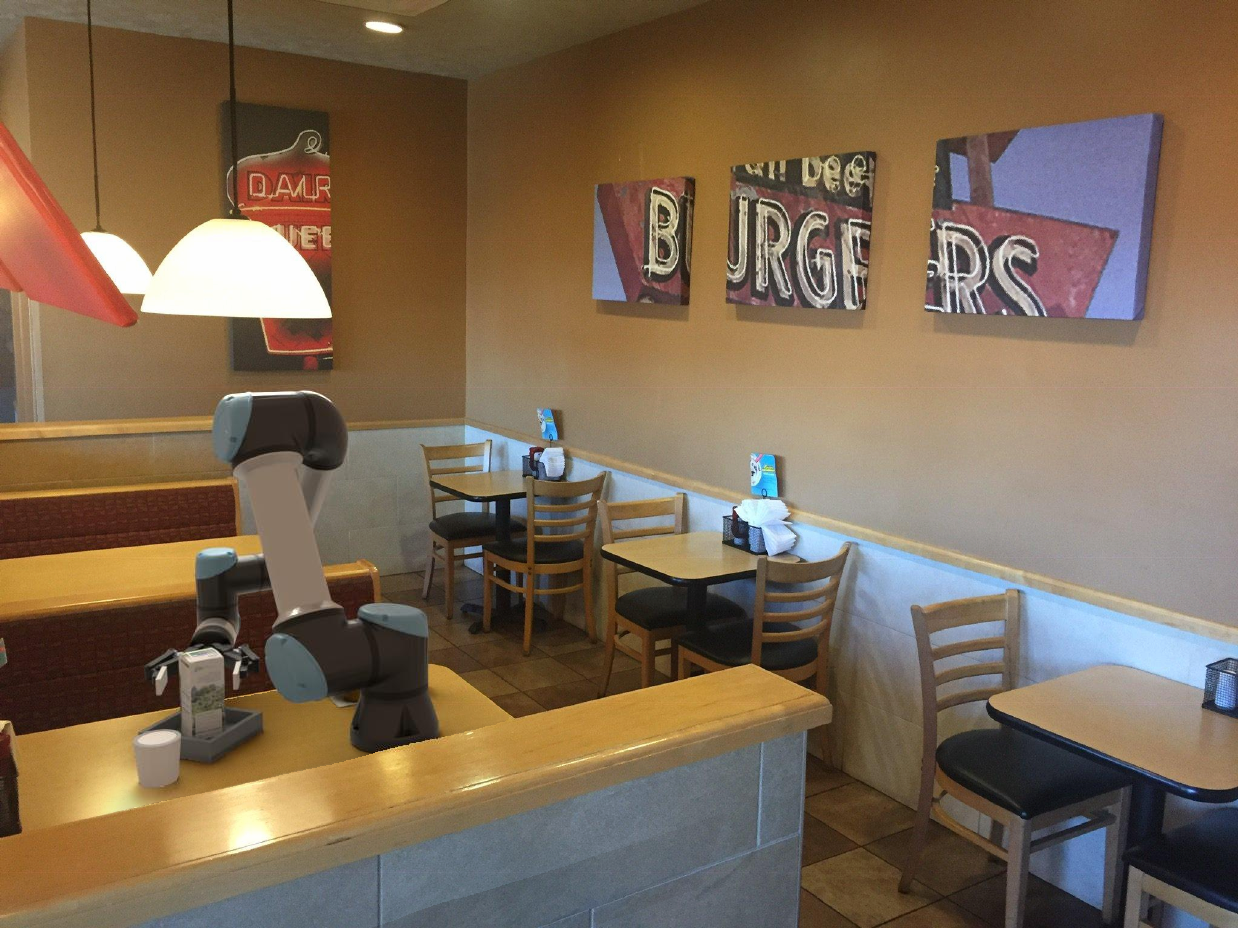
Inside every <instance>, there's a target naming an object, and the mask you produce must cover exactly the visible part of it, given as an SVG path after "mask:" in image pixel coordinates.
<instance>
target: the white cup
mask: <svg viewBox="0 0 1238 928" xmlns="http://www.w3.org/2000/svg"><path fill="white" fill-rule="evenodd" d="M180 744H181V734H180V733H179V732H178V731H175V730H167V729H163V730H154V731H150V732H146V733H143V734H141V735H139V736H138V735H137V736H136V737H135V738H133V740H132V745H133V746H132V747H133V753H134V759H135V764H136V770H137V778H138V784H139V785H140V786H141V787H143V788H147V789H157V788H162V787H161V786H163V787H166V786H165V785H167V786H169V784H170V783H172V784H174V783H175V782H176V781H178V780H177V778H178V779H179V777H178V776H180V775H179V774H180V773H179V772H180ZM175 780H176V781H175ZM174 781H175V782H174ZM173 782H174V783H173ZM170 785H171V784H170Z"/></svg>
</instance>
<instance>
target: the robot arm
mask: <svg viewBox="0 0 1238 928" xmlns="http://www.w3.org/2000/svg"><path fill="white" fill-rule="evenodd" d="M344 418H345V417H344V416H343V414H342V413H341V411H340V409H339V408H338V407H337V405H336V404H335V403H334V402H332V400H330V399H329V398H327V397H326V396H324V395H323V394H320V393H318V392H314V391H311V390H296V391H274V392H273V391H271V392H270V391H269V392H265V391H264V392H251V391H246V392H244V393H243V392H242V393H231V394H227V395H225V396H224V397H223V398H222V399H221V400H220V401H219V403H218V405H217V407H216V409H215V412H214V415H213V420H212V428H211V430H212V431H211V441H212V442H211V443H212V448H213V454H214V455H215V457H216V459H217V461H219V462H220V463H224V464H230V465H231V468H232V472H233V475H234V477H235V478H237V479H239V480H241V481H243V482H244V483H245V486H246V489H247V493H248V497H249V498H248V499H249V502H250V506H251V509H252V513H253V518H254V521H255V525H256V529H257V532H258V537H259V541H260V545H261V550H262V552H260V553H259V552H258V553H254V554H253V553H252V554H246V555H245V554H244V555H239V556H238V554H237V551H236V550H235V549H234V548H231V547H223V546H222V547H211V548H206V549H202V550H200V551H199V552H198V553H197V554H196V556H195V566H194V570H195V571H194V578H195V593H196V624H197V626H196V628H195V632H194V633H193V635H192V637H191V640H190V641H189V645H188V648H186V649H184V650H183V651H180V652H178V651H177V650H176V648H168V649H167V650H166V652H165V653H164V654H161V656H158V657H157V658H155V659H154V660H152V661H150V662H149V663H147V664H145V665H144V680H145V681H152V682H151V683H152V685H154V686H155V694H156V696H162V694H163V692H164V690H165V687H166V686H167V683H168V678H171V677H173V676H174V677H175V675H179V654H182V653H187V652H192V651H197V650H202V649H208V648H213V649H215V650H216V651H218V652H219V653H220V654H221V655H222V656H223V657H224V669H228V670H231V671H232V685H233V686H232V688H233V689H232V690H239V688H240V683H241V681H242V680H243V679H247V678H248V675H249V674H250V672H252V673H253V674H259V673H261V665H260V664H261V659H260V657H259V656H258V655H257V654H255V653H254V652H253V650H251V649H250V647H249V644H248V643H244V644H241V646H238V648H234V647H235V644H236V639H237V638H238V637H237V636H238V635H239V631H240V630H241V616H240V614H239V595H245V594H250V593H257V592H262V591H263V592H264V591H268V590H270V591H271V590H272V593H273V598H274V601H275V605H276V610H277V613H278V617H277V618H276V619H275V621H274V622H273V625H272V626H271V629H272V630H271V631H272V633H273V634H272V635H271V636H270V637H268V639H267V640H266V643H265V646H264V654H265V657H264V660H265V665H266V666H265V667H266V670H267V673H268V676H269V678H270V681H271V683H272V684H273V686H274V688H275V690H276V691H277V692H278V694H279V695H280V696H282V697H283V698H284V699H285V700H287V701H288V702H290V703H292V704H297V705H298V704H305V703H310V702H311V703H312V702H321V701H322V700H324V699H327V698H329V697H331V696H335V695H339V694H343V693H347V692H351V691H355V690H359V689H360V697H359V700H358V704H356V707H355V710H354V713H353V715H352V716H353V717H352V718H351V719H352V720H351V722H350V723H351V724H350V727H349V728H350V729H349V734H350V735H349V737H350V738H349V740H350V742H351V744H352V745H353V746H355V747H356V748H357V749H360V750H362V751H366V752H370V753H375V752H378V751H383V750H387V749H390V748H395V747H398V746H403V745H409V744H410V743H416V742H422V741H425V740H430V739H435V738H436V739H438V737H439V734H440V730H439V729H440V725H439V723H440V722H439V718H438V715H437V712H436V708H435V706H434V704H433V703H434V702H433V700H432V698H431V695H430V692H429V638H430V633H429V627H428V626H429V624H428V617H427V615H426V613H425V612H423V611H422V610H421V609H419V608H417V607H414V606H410V605H406V604H398V603H390V602H388V603H386V602H385V603H384V602H383V603H382V602H379V603H378V602H377V603H376V602H374V603H369V604H368V603H367V604H364V605H362V606H360V607H359V609H358V612H357V616H358V617H357V618H353V619H349V620H348V619H347V617H346V613H345V610H344V607H343V606H341V605H340V604H338V603H336V602H334V601H333V600H332V598H331V594H330V590H329V587H328V583H327V580H326V576H325V572H324V568H323V564H322V561H321V557H320V553H319V549H318V545H317V541H316V537H315V534H314V529H315V526H316V523H317V520H318V517H319V515H320V511H321V509H322V505H323V503H324V500H325V498H326V495H327V492H328V489H329V486H330V483H331V481H332V478H333V475H334V472H335V471H336V470H338V469H340V468H341V467H342V465H343V464H344V461H345V458H346V455H347V452H348V447H349V432H348V430H349V429H348V426H347V423H346V420H345V419H344Z"/></svg>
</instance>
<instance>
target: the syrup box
mask: <svg viewBox="0 0 1238 928" xmlns="http://www.w3.org/2000/svg"><path fill="white" fill-rule="evenodd" d="M178 675H179V677H178V679H179V706H180V707H179V710H180V714H181V733H182V734H183V735H184V736H187V737H194V738H201V739H208V740H209V739H211V738H213V737H215V736H216V735H218V734H220V733H221V732H223V731H225V707H226V704H225V699H226V696H225V694H226V693H225V668H224V657H223V656H222V655H221V654H220V653H219V652H218V651H216V650H215V649H213V648H208V649H202V650H197V651H192V652H187V653H182V654H179V673H178Z"/></svg>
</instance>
